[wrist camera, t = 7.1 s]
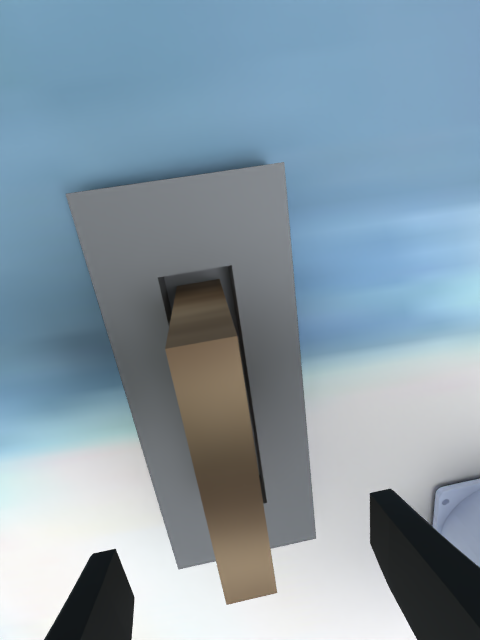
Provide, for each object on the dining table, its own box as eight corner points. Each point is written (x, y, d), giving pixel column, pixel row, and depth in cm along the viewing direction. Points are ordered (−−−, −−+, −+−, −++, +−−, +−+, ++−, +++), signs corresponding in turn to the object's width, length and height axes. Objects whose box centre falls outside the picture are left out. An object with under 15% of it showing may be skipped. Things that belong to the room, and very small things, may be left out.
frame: (249, 462, 20) (277, 592, 13) (215, 469, 20) (225, 604, 13) (219, 279, 16) (237, 335, 9) (176, 286, 16) (164, 349, 9)
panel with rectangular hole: (303, 502, 22) (316, 538, 20) (180, 529, 22) (178, 569, 19) (269, 167, 15) (283, 162, 13) (86, 194, 15) (65, 193, 12)
